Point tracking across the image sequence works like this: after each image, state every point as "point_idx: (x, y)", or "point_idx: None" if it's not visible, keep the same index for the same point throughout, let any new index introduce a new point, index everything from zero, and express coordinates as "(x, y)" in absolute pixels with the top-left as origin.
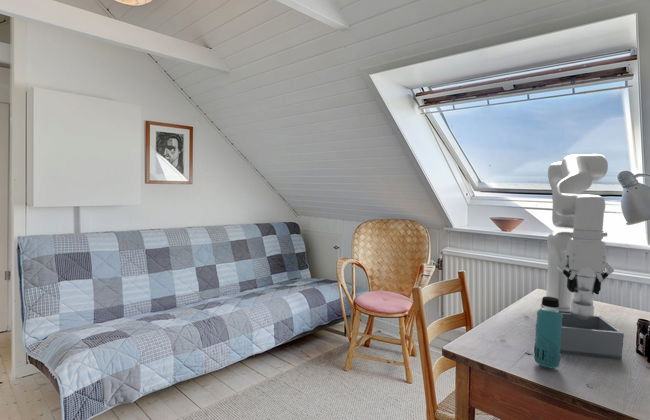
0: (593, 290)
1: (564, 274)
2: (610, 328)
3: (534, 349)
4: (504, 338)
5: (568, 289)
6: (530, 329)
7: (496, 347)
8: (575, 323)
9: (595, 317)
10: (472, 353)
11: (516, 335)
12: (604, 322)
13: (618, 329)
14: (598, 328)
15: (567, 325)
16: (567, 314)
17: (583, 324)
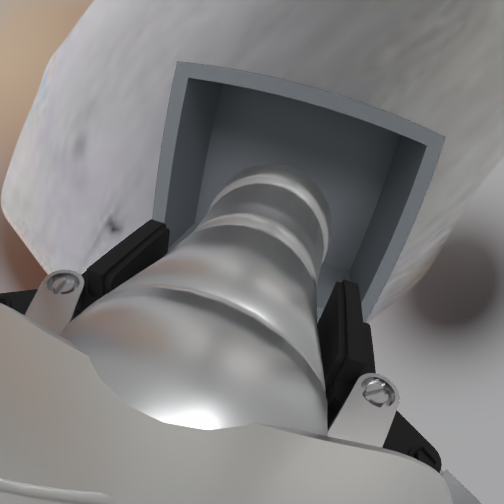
0: (326, 312)
1: (23, 304)
2: (379, 258)
3: None
4: (87, 129)
5: (152, 223)
6: (197, 30)
7: (60, 193)
8: (323, 107)
9: (413, 139)
10: (26, 224)
11: (125, 97)
12: (403, 206)
13: (377, 298)
14: (408, 146)
15: (291, 98)
16: (281, 94)
17: (357, 118)
